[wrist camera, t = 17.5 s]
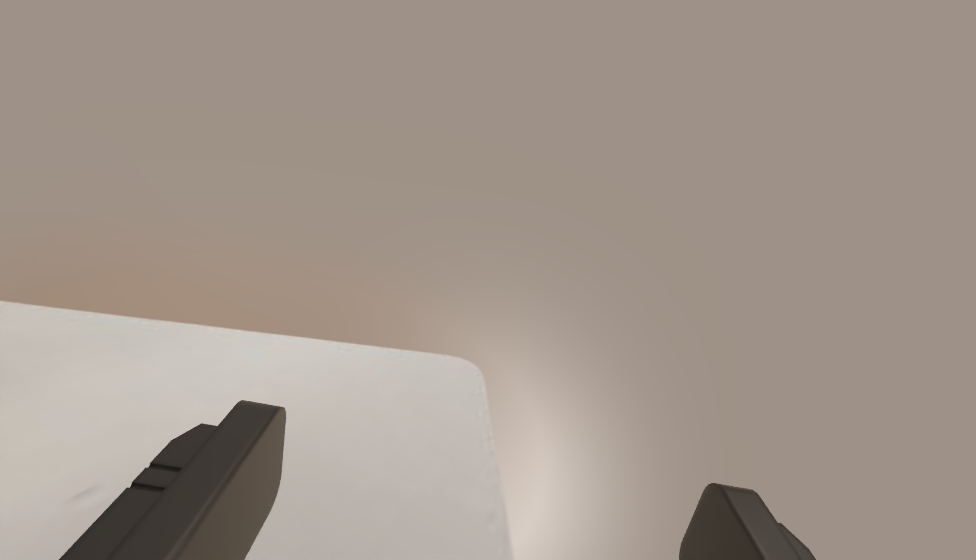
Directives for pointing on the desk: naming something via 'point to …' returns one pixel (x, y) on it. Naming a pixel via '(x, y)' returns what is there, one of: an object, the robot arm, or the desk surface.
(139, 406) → the desk surface
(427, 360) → the desk surface
